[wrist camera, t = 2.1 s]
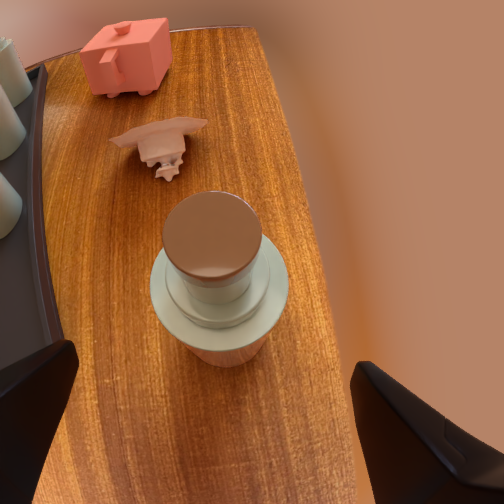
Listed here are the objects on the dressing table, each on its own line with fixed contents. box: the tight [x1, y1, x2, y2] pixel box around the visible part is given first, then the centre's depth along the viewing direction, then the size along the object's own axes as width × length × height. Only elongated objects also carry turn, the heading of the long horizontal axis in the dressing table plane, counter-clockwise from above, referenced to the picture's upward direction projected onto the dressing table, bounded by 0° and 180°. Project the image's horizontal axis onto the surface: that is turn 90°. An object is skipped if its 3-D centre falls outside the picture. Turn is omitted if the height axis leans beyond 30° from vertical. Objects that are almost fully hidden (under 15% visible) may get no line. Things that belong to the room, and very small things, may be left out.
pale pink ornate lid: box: [109, 116, 209, 182], centre depth 23 cm, size 8×5×8 cm
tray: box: [0, 63, 64, 370], centre depth 23 cm, size 42×9×2 cm, turn 26°
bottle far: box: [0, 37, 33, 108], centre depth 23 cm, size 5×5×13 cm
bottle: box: [150, 191, 289, 367], centre depth 14 cm, size 5×5×13 cm
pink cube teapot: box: [79, 18, 173, 98], centre depth 27 cm, size 8×12×8 cm, turn 177°
